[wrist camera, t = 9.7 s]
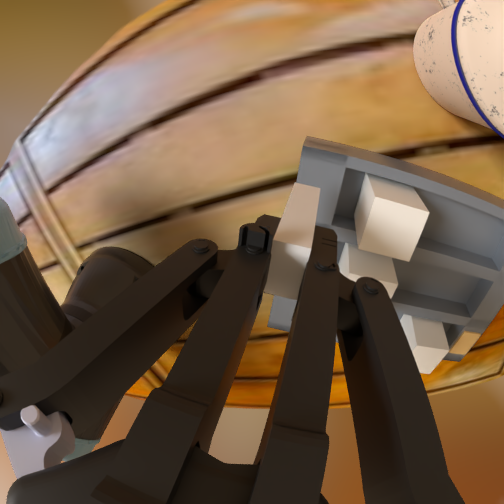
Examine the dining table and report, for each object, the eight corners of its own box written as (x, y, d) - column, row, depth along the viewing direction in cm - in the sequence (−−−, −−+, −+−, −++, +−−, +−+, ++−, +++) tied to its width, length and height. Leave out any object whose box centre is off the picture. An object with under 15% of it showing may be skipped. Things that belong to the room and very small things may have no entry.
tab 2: (335, 271, 25) (334, 311, 21) (347, 235, 23) (349, 273, 19) (374, 280, 24) (379, 321, 20) (388, 245, 22) (398, 284, 18)
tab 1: (353, 214, 22) (358, 249, 18) (365, 170, 20) (375, 196, 16) (396, 225, 21) (408, 261, 17) (410, 183, 19) (429, 212, 15)
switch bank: (274, 302, 30) (266, 328, 27) (306, 136, 21) (302, 146, 18) (453, 338, 27) (460, 363, 24) (526, 211, 18) (545, 230, 15)
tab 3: (393, 330, 27) (398, 370, 23) (408, 305, 25) (416, 345, 21) (422, 335, 26) (429, 373, 22) (438, 311, 24) (449, 350, 20)
